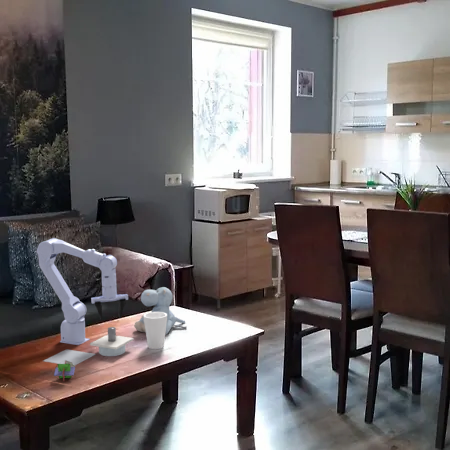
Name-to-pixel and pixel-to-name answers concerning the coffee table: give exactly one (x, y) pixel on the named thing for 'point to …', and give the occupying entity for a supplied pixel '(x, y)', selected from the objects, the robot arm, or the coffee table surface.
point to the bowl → (111, 351)
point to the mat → (69, 357)
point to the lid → (112, 340)
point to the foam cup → (155, 329)
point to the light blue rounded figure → (158, 307)
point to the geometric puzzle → (64, 370)
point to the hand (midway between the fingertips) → (110, 318)
